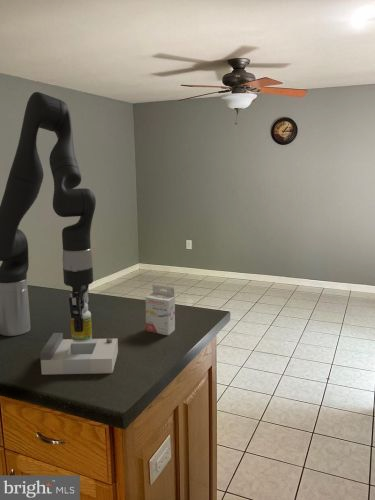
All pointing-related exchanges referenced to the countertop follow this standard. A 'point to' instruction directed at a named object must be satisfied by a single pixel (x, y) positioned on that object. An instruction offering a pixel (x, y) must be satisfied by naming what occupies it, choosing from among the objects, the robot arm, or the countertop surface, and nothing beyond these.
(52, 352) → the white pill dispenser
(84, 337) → the supplement bottle
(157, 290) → the ink cartridge box
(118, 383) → the countertop surface
